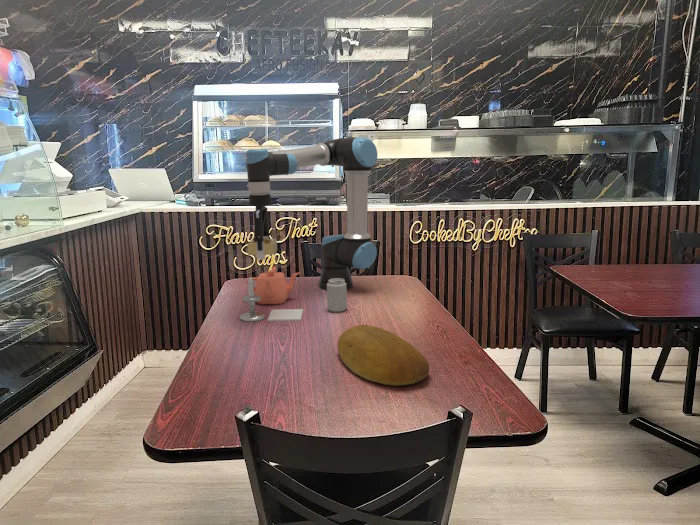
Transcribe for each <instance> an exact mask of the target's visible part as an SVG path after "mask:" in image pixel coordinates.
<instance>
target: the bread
mask: <svg viewBox="0 0 700 525" xmlns="http://www.w3.org/2000/svg"><path fill="white" fill-rule="evenodd" d="M337 352H338V354H339V357H340V359H341V361H342V363H344V365H345V366H346V367H347V368H348V369H349V370H350V371H351V372H353V374H355V375H357V376H359V377H361V378H363V379H365V380H368V381H370V382H374V383H378V384H381V385H385V386H386V385H387V386H397V387H398V386H408V385H413V384H416V383H418V382H420V381H422V380H424V379H425V378H426V377H427V376H428V374H429V373H430V365H429V361H428V360H427V359H426V357H425V356H424V355H423V354H422V353H421V352H420V351H419V350H418V349H417V348H416V347H415V346H414V345H412V344H411V343H409V342H408V341H406V340H405V339H404V338H402V337H400V336H398V335H397V334H394V333H393V332H391V331H388V330H387V329H383V328H380V327H377V326H373V325H368V324H359V325H355V326H352V327H349V328H347V329H346V330H344V331H343V332H342V333H341V334H340V336H339V337H338V339H337Z"/></svg>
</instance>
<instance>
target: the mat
mask: <svg viewBox="0 0 700 525" xmlns="http://www.w3.org/2000/svg"><path fill="white" fill-rule="evenodd" d="M303 313H304V308H295V309H294V308H289V309H285V308H284V309H283V308H282V309H276V308H275V309H271V311H270V312H269V316H268V317H267V322H286V321H287V322H294V321H296V322H297V321H302V316H303Z"/></svg>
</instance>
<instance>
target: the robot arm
mask: <svg viewBox="0 0 700 525" xmlns="http://www.w3.org/2000/svg"><path fill="white" fill-rule="evenodd" d="M245 156H246V159H245V161H244V163H245V164H244V166H245V169H246V172H247V182H248V183H247V184H246V187H247V188H248V194H249V195H248V202H249V203H248V204H249V206H252V207H255V210H254V211H253V217H254V218H253V220H254V221H253V223H254V242H256V249H257V255H256V261H258V260H259V261H260V260H263V261H264V260H266V255H265V248H264V241H263V239H270V238H269V236H271V233H270V228H269V227H270V226H269V217H268V207H266V206H270V205H271V204H272V203H271V202H272V199H271V198H272V197H271V194H270V193H271V181H270V179H271V178H270V177H272V176H273V177H274V176H288V175H293V174H295V173H296V172H297V170H298V168H305V167H310V166H311V167H312V166H316V165H319V166H320V167H325V166H335V167H336V166H337V167H343V168H342V171H343V172H344V173H345V175H346V233H343V234H333V235H326V236H323V237H322V241H321V258H322V260H321V261H322V262H321V263H322V264H321V265H322V270H321V273H320V276H319V280H318V281H319V282H318V287H319V288H320V289H322V290H327V283H328V282H329V281H328V280H329V279H333V278H341V279H344V280H345V281H344V282H345V283H346V287H347V290H348V289H350V288H352V287H354V286H353V284H354V283H353V282H354V281H353V278H352V275H351V273H350V269H349V267H350V268H354V269H357V270H358V269H360V270H364V269H365V270H366V269H368V268H370V267H371V266H372V265H373V263H374V262H375V260H376V259H377V253H378V251H377V250H378V249H377V246H375V245H376V244H374V243H373V242H372V235H370V234H369V231H368V230H369V229H368V228H369V226H368V222H369V220H368V217H369V216H368V212H369V210H368V208H369V207H368V204H369V203H368V200H369V199H368V198H369V197H368V196H369V194H368V192H369V190H368V188H369V186H368V184H369V182H368V181H369V179H368V178H369V177H368V176H369V174H371V173H372V167H373V166H374V165H375V164H376V162H377V161H378V150H377V146H376V144H375V143H374V141H373V140H371V139H370V138H368V137H363V136H362V137H360V136H357V137H339V138H335V139H331V140H327V141H321V142H318V143H317V144H316V145H312V146H305V147H299V148H292V149H283V150H277V151H270V152H269V150H268V149H267V148H257V149H256V148H253V149H251V148H250V149H247V150H246V155H245Z"/></svg>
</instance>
